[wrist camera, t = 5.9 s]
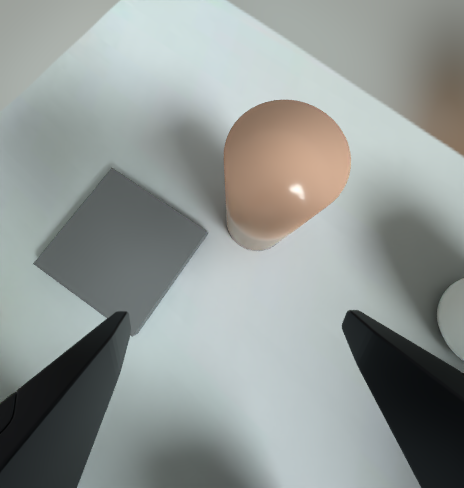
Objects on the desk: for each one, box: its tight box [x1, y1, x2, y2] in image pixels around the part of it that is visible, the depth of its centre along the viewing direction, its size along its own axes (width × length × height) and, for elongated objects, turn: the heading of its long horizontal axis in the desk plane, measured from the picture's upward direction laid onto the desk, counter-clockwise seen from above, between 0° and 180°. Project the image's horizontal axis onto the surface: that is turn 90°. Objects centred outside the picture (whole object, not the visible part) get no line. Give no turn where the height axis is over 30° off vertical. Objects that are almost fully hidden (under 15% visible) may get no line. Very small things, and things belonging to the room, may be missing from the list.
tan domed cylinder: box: [224, 100, 351, 251], centre depth 17 cm, size 6×6×12 cm
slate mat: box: [33, 168, 208, 337], centre depth 22 cm, size 12×12×1 cm
